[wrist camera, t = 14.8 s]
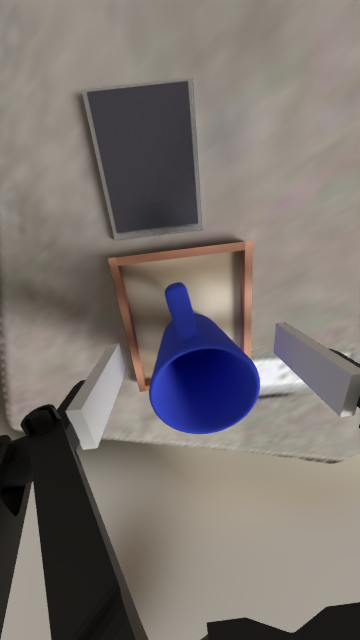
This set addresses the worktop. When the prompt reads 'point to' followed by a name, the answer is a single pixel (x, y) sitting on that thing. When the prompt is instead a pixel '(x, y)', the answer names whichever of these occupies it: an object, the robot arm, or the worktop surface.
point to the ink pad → (147, 156)
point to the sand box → (203, 289)
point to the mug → (200, 372)
